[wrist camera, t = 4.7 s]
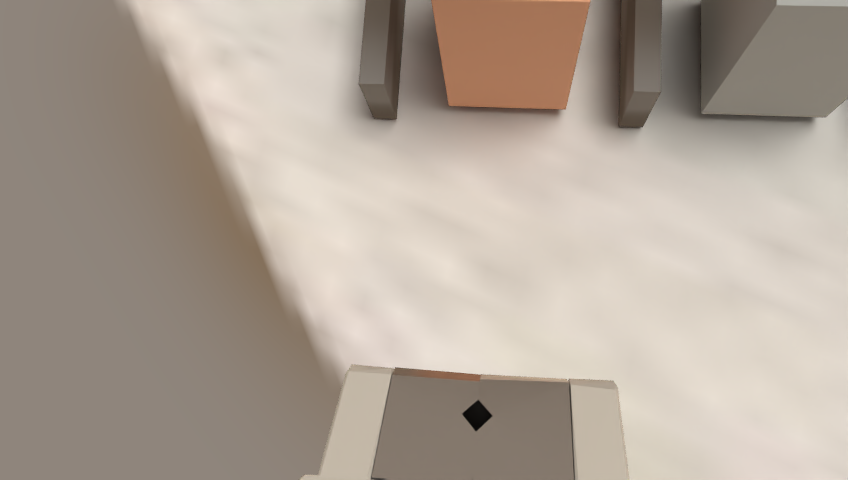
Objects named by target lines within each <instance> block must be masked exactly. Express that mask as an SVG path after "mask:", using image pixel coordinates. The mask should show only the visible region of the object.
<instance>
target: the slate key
mask: <svg viewBox="0 0 848 480" xmlns="http://www.w3.org/2000/svg"><path fill="white" fill-rule="evenodd" d="M847 98H848V0H701V114H729V115H761V116H794V117H827V116H828V115H829V114H830V113H831V112H832V111H833V110H835V109H836V108H837V107H838V106H839V105H840V104H841V103H842V102H844V101H845V100H846V99H847Z"/></svg>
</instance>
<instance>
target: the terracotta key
mask: <svg viewBox="0 0 848 480" xmlns="http://www.w3.org/2000/svg"><path fill="white" fill-rule="evenodd" d="M431 1H432V7H433V13H434V19H435V25H436V31H437V37H438V43H439V49H440V55H441V61H442V67H443V73H444V79H445V85H446V91H447V97H448V103H449V106H471V107H503V108H536V109H566V106H567V102H568V97H569V93H570V88H571V84H572V80H573V75H574V71H575V66H576V62H577V58H578V53H579V49H580V44H581V40H582V36H583V31H584V27H585V23H586V18H587V14H588V9H589V5H590V0H431Z"/></svg>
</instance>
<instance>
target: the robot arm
mask: <svg viewBox="0 0 848 480" xmlns="http://www.w3.org/2000/svg"><path fill="white" fill-rule="evenodd" d="M299 480H629V472H628V464H627V457H626V449H625V441H624V433H623V425H622V418H621V410H620V402H619V394H618V387H617V386H616V384H615V383H614V381H606V380H585V379H569V380H567V379H556V378H538V377H519V376H501V375H482V374H481V375H478V374H466V373H454V372H443V371H431V370H419V369H408V368H396V367H395V369H394V368H384V367H373V366H362V365H351V367H350V368H349V370H348V371H347V373H346V374H345V378H344V382H343V385H342V389H341V393H340V396H339V400H338V403H337V407H336V411H335V415H334V418H333V422H332V425H331V429H330V432H329V436H328V440H327V443H326V447H325V451H324V454H323V458H322V462H321V465H320V469H319V472H318V475H303V476H302V477H301V478H300V479H299Z"/></svg>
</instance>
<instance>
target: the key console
mask: <svg viewBox="0 0 848 480" xmlns="http://www.w3.org/2000/svg"><path fill="white" fill-rule="evenodd" d="M404 13H405V0H366V6H365V18H364V29H363V41H362V53H361V64H360V76H359V85H360V87H361V90H362V92H363V94H364V97H365V99H366V101H367V103H368V106H369V108H370V110H371V113H372V115H373V117H374V118H377V119H396V118H397V105H398V92H399V79H400V66H401V52H402V39H403V26H404ZM661 28H662V0H621V44H620V92H619V126H622V127H643V125H644V123H645V122H646V120H647V118H648V116H649V114H650V112H651V110H652V108H653V106H654V104H655V102H656V100H657V98H658V97H659V95H660V93H661Z"/></svg>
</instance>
